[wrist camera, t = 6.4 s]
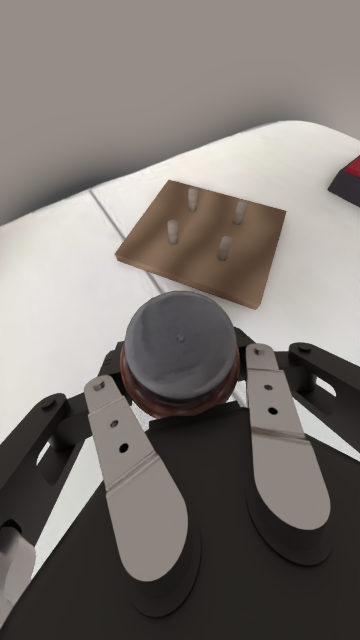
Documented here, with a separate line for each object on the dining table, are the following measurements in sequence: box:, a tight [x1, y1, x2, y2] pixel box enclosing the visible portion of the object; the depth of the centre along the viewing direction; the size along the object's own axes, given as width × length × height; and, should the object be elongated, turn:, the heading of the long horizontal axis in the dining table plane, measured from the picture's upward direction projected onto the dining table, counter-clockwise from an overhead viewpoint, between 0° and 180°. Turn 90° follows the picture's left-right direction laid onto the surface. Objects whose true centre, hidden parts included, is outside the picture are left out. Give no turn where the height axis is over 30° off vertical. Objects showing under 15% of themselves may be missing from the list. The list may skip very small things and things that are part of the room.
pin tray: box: [115, 180, 286, 310], centre depth 23 cm, size 18×16×4 cm
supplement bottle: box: [120, 291, 240, 419], centre depth 11 cm, size 6×6×11 cm
